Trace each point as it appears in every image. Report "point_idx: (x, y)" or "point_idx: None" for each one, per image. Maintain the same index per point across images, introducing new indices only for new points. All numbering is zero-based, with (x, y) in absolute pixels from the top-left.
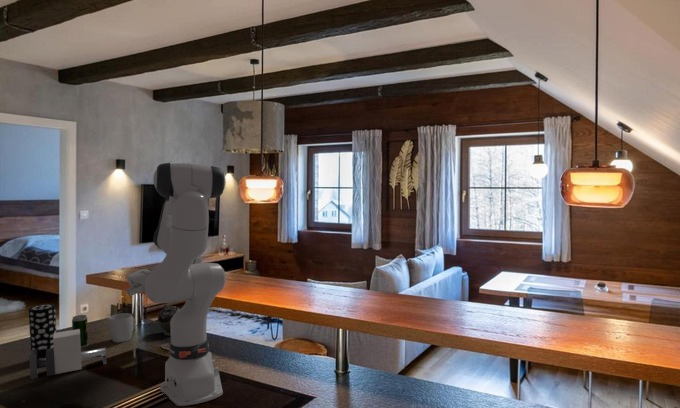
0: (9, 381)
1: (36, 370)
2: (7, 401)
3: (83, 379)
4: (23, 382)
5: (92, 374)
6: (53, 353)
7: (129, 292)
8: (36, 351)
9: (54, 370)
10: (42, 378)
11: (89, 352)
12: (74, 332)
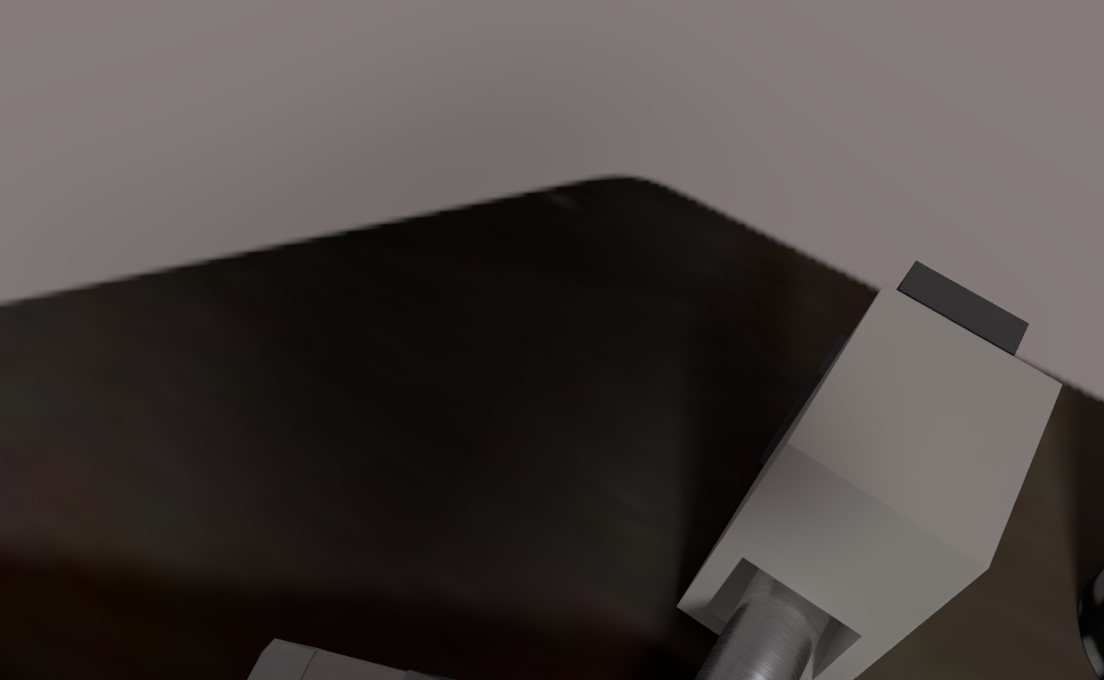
0: None
1: None
2: (637, 177)
3: (494, 495)
4: (831, 341)
5: (511, 586)
6: None
7: (315, 648)
8: (955, 320)
9: (771, 443)
10: None
11: (732, 653)
12: (901, 461)
